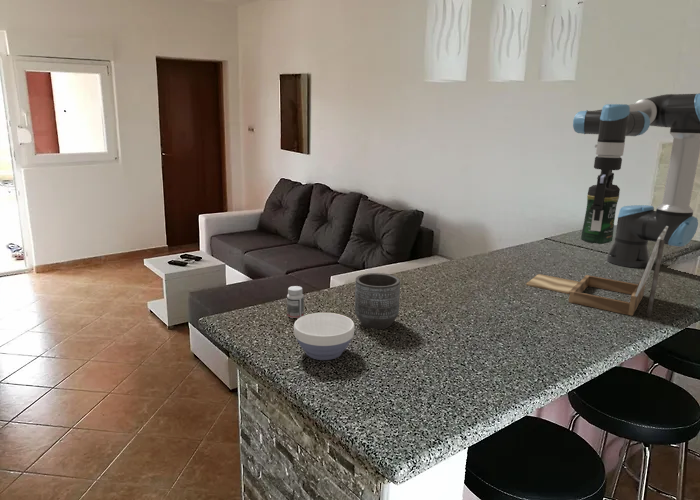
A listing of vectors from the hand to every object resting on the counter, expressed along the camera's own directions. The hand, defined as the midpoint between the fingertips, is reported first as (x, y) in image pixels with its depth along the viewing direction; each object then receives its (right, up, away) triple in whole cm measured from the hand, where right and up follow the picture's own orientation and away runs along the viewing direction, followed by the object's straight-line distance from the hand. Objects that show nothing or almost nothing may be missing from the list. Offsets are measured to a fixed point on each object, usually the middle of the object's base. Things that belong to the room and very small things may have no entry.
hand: (598, 227), depth 164 cm
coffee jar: (0, -5, +1) cm, 5 cm away
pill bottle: (-95, -26, -17) cm, 100 cm away
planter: (-72, -28, -21) cm, 80 cm away
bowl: (-85, -32, -39) cm, 99 cm away
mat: (-9, -19, +15) cm, 26 cm away
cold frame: (+5, -23, 0) cm, 24 cm away
